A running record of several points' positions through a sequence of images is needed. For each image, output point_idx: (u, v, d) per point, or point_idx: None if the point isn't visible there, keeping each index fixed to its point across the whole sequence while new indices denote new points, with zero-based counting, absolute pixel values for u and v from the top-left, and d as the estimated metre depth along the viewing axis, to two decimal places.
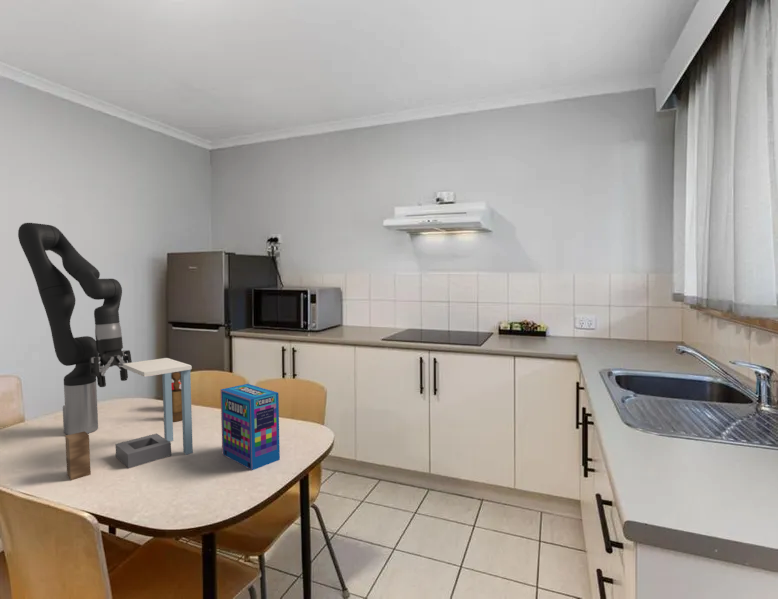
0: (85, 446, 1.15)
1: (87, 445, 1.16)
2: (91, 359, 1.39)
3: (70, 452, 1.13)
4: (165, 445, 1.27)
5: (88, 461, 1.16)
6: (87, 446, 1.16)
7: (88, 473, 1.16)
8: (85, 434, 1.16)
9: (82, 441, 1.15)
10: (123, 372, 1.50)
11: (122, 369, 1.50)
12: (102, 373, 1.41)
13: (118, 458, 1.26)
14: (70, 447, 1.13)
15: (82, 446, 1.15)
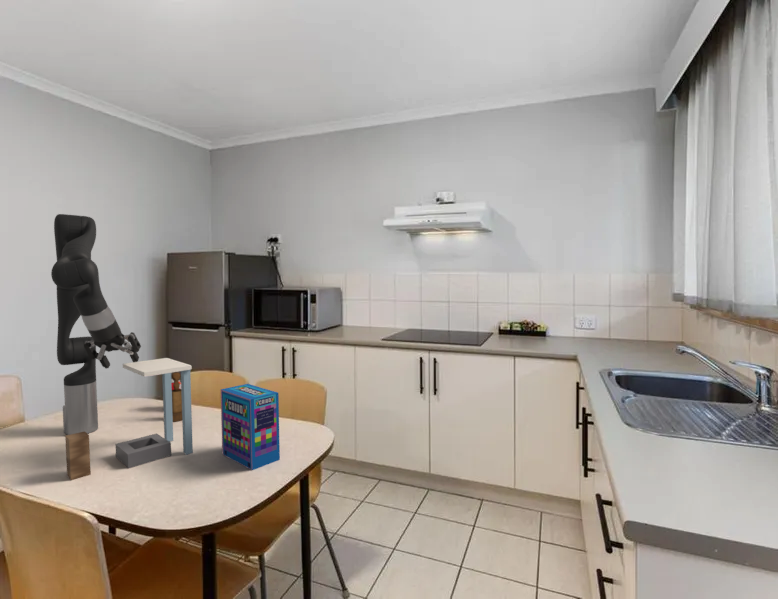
0: (85, 446, 1.15)
1: (87, 445, 1.16)
2: None
3: (70, 452, 1.13)
4: (165, 445, 1.27)
5: (88, 461, 1.16)
6: (87, 446, 1.16)
7: (88, 473, 1.16)
8: (85, 434, 1.16)
9: (82, 441, 1.15)
10: None
11: None
12: (98, 358, 1.31)
13: (118, 458, 1.26)
14: (70, 447, 1.13)
15: (82, 446, 1.15)
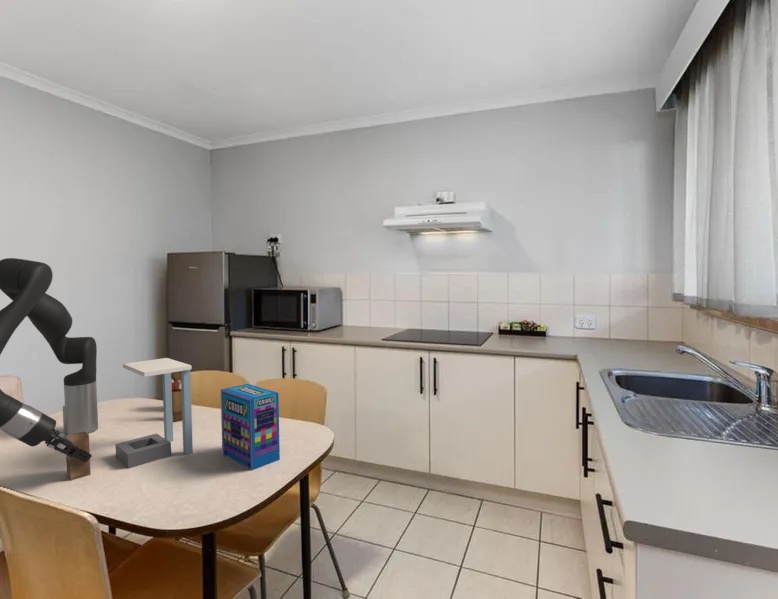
0: (85, 446, 1.15)
1: (87, 445, 1.15)
2: None
3: (70, 452, 1.13)
4: (165, 445, 1.27)
5: (88, 461, 1.16)
6: (87, 446, 1.15)
7: (88, 473, 1.16)
8: (85, 434, 1.16)
9: (82, 441, 1.15)
10: None
11: None
12: None
13: (118, 458, 1.26)
14: None
15: (82, 446, 1.15)
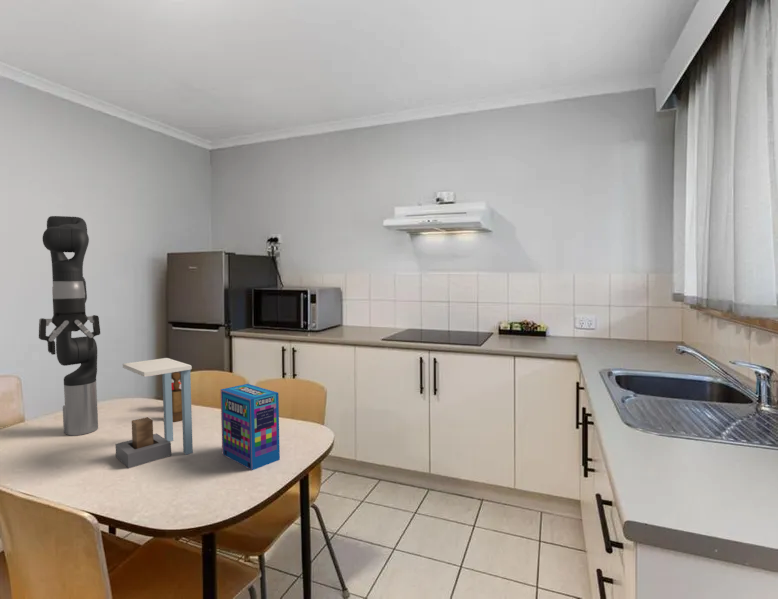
0: (149, 430, 1.27)
1: (151, 429, 1.27)
2: (39, 320, 1.19)
3: (137, 435, 1.25)
4: (165, 445, 1.27)
5: (152, 444, 1.28)
6: (151, 430, 1.27)
7: None
8: (149, 419, 1.28)
9: (147, 426, 1.27)
10: (87, 340, 1.27)
11: (87, 337, 1.27)
12: (50, 338, 1.20)
13: (118, 458, 1.26)
14: (137, 431, 1.25)
15: (147, 430, 1.27)
